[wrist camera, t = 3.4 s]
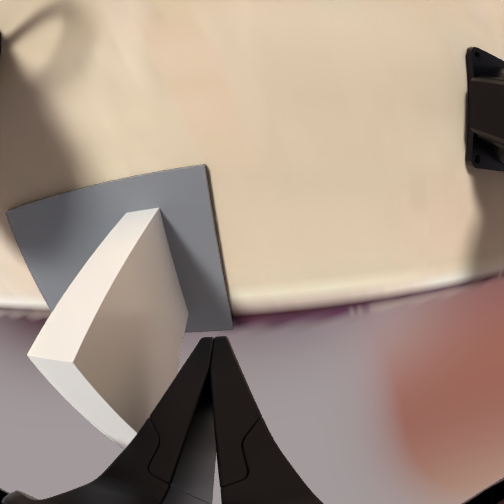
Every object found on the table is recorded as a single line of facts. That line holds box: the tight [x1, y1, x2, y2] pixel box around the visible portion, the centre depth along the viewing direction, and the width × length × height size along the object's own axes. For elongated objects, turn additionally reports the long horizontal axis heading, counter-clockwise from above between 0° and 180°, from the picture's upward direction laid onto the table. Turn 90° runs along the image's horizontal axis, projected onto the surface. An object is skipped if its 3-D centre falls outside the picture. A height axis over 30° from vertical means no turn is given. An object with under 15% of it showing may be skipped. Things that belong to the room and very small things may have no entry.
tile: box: [27, 208, 188, 449], centre depth 9 cm, size 2×6×8 cm, turn 5°
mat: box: [6, 164, 233, 332], centre depth 13 cm, size 12×9×1 cm
